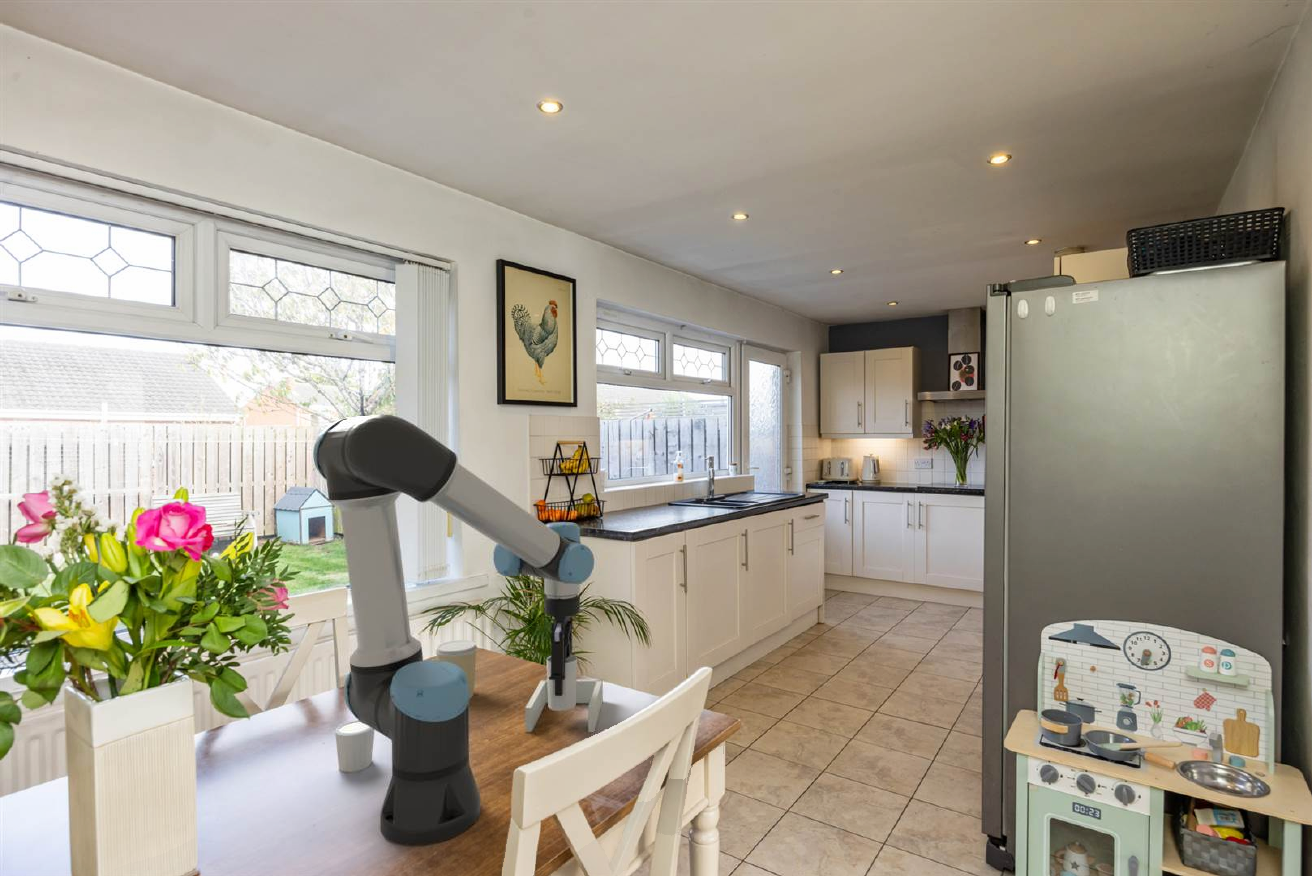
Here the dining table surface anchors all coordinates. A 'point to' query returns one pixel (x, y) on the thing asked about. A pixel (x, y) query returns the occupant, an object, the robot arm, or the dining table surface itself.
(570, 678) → the white cup
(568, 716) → the dining table surface
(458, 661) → the coffee cup
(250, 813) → the dining table surface
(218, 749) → the dining table surface
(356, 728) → the white tapered cup
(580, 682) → the u-shaped frame
